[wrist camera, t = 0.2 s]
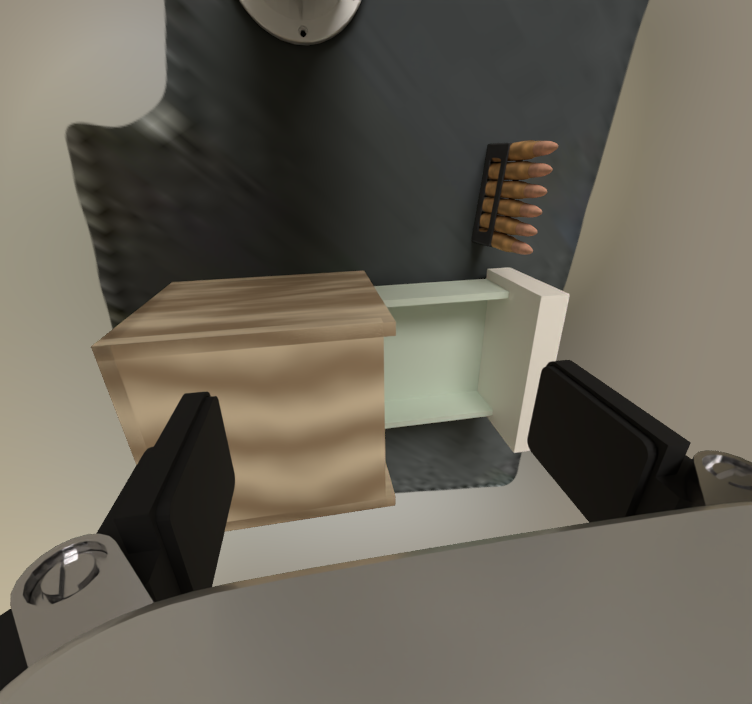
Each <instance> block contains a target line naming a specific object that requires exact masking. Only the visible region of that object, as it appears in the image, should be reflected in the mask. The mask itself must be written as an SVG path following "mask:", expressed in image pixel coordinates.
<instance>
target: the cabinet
mask: <svg viewBox="0 0 752 704" xmlns="http://www.w3.org/2000/svg"><path fill="white" fill-rule="evenodd" d="M388 336H396V321H395V320H394V318H393V316H392V315H391V313H390V312H389V310H388V308H387V307H386V305H385V304H384V302H383V300H382V299H381V297H380V296H379V294H378V292H377V291H376V289H375V287H374V286H373V284H372V283H371V281H370V279H369V278H368V276H367V275H366V273H365V271H348V272H331V273H315V274H298V275H281V276H265V277H248V278H232V279H215V280H198V281H182V282H172V283H171V284H169V285H168V286H167V287H166V288H164V289H163V290H162V291H160V292H159V293H158V294H157V295H155V296H154V297H153V298H152V299H150V300H149V301H148V302H147V303H145V304H144V305H143V306H142V307H140V308H139V309H138V310H136V311H135V312H134V313H133V314H131V315H130V316H129V317H128V318H126V319H125V320H124V321H123V322H121V323H120V324H119V325H118V326H116V327H115V328H114V329H112V330H111V331H110V332H109V333H107V334H106V335H105V336H104V337H102V338H101V339H100V340H99V341H97V342H96V343H95V344H94V345H92V346H91V348H92V351H93V353H94V356H95V358H96V361H97V363H98V366H99V369H100V371H101V374H102V377H103V379H104V382H105V384H106V387H107V389H108V392H109V395H110V397H111V400H112V402H113V405H114V408H115V410H116V413H117V415H118V418H119V421H120V423H121V426H122V428H123V431H124V433H125V436H126V439H127V441H128V444H129V447H130V449H131V451H132V454H133V457H134V460H135V462H136V465H137V464H138V462H139V460H140V459H141V457H142V455H143V454H144V452H145V451H146V450H147V449H148V448H150V447H154V445H155V444H156V442H157V440H158V438H159V437H160V435H161V433H162V431H163V429H164V428H165V426H166V424H167V422H168V421H169V419H170V417H171V415H172V414H173V412H174V410H175V408H176V406H177V405H178V403H179V401H180V399H181V398H182V396H183V395H184V394H185V393H195V392H206V391H208V392H209V393H210V395H211V396H217V397H218V400H219V404H220V409H221V413H222V418H223V422H224V427H225V432H226V436H227V441H228V445H229V450H230V455H231V459H232V464H233V468H234V473H235V488H234V493H233V497H232V501H231V506H230V510H229V514H228V519H227V523H226V527H225V531H231V530H238V529H245V528H251V527H258V526H263V525H271V524H277V523H283V522H290V521H296V520H303V519H310V518H316V517H323V516H329V515H336V514H342V513H349V512H355V511H362V510H368V509H374V508H381V507H387V506H394V505H395V493H394V490H393V486H392V483H391V479H390V476H389V472H388V468H387V465H386V461H385V405H384V337H388Z"/></svg>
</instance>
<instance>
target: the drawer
mask: <svg viewBox="0 0 752 704" xmlns="http://www.w3.org/2000/svg"><path fill="white" fill-rule="evenodd" d="M374 287H375V289H376V291H377V292H378V294H379V296H380V297H381V299H382V300H383V302H384V304H385V305H386V307H387V308H388V310H389V312H390V313H391V315H392V316H393V318H394V320H395V321H396V336H388V337H384V405H385V429H386V428H395V427H403V426H411V425H419V424H427V423H435V422H443V421H451V420H460V419H468V418H476V417H484V416H487V418H488V419H489V420H490V422H491V423H492V424H493V426H494V427H495V428H496V430H497V431H498V432H499V434H500V435H501V436H502V438H503V439H504V440H505V442H506V443H507V444H508V446H509V447H510V448H511V450H512V451H513V452H514V453H516V452H523V451H530V449H529V447H528V444H527V437H528V433H529V428H530V423H531V418H532V413H533V409H534V404H535V399H536V394H537V389H538V385H539V380H540V375H541V371H542V369H543V368H544V367H546V365H547V364H548V363H549V362H551V361H556V357H557V353H558V348H559V343H560V338H561V334H562V329H563V324H564V320H565V315H566V310H567V305H568V300H569V296H570V294H568V293H566V292H563V291H561V290H559V289H557V288H555V287H552V286H550V285H548V284H546V283H543V282H541V281H539V280H537V279H534V278H532V277H530V276H528V275H525V274H523V273H521V272H519V271H516V270H514V269H512V268H494V269H487V276H486V279H476V280H461V281H446V282H431V283H416V284H401V285H386V286H374Z"/></svg>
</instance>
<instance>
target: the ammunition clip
mask: <svg viewBox="0 0 752 704" xmlns="http://www.w3.org/2000/svg"><path fill="white" fill-rule="evenodd" d="M557 148H558V145H557V144H556V143H554V142H551V141H533V140H529V141H522V142H516V143H497V144H488V147H487V153H486V159H485V165H484V170H483V176H482V182H481V188H480V193H479V199H478V205H477V211H476V217H475V222H474V228H473V234H472V242H474V243H478V244H482V245H486V246H490V247H495V248H497V249H500V250H503V251H506V252H514V253H518V254H531V253H532V252H533V250H532V248H531V247H530V246H529V245H528V244H526V243H524V242H521V241H519V240H517V239H516V238H514V237H512V236H509V235H522V236H533V235H535V234H537V230H536V229H535V228H534V227H533V226H531V225H529V224H526V223H523V222H520V221H519V220H517V219H514V218H511V217H536V216H539V215H541V214H542V210H541V209H540V208H538V207H537V206H534V205H531V204H527V203H524V202H522V201H519V200H515V199H523V198H536V197H541V196H543V195H545V194H546V193H547V190H546V189H545V188H544V187H542V186H539V185H536V184H529V183H526V182H523V181H519V180H524V179H528V178H533V177H541V176H545V175H547V174H549V173H551V172H552V170H553V169H552V167H551V166H549V165H547V164H543V163H531V162H528V161H523V160H526V159H532V158H534V157H538V156H542V155H547V154H549V153H552V152H553V151H555V150H556V149H557ZM507 161H516V162H507ZM503 180H513V181H503ZM500 197H501V198H500ZM503 198H509V199H503ZM497 214H499V215H497ZM500 215H505V216H500ZM494 230H495V231H494ZM496 231H498V232H496ZM499 232H500V233H499ZM507 234H509V235H507Z"/></svg>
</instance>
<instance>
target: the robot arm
mask: <svg viewBox="0 0 752 704" xmlns="http://www.w3.org/2000/svg"><path fill="white" fill-rule="evenodd" d="M239 1H240V3H241V4H242V6H243V7H244V9H245V10H246V12H247V13H248V14H249V15H250V16H251V17H252V18H253V20H254V21H255V22H256V23H257V24H258V25H259V26H261V27H262V28H263V29H264V30H266V31H267V32H268V33H269V34H271V35H273V36H275V37H277V38H278V39H280V40H282V41H286V42H289V43H292V44H297V45H313V44H320V43H322V42H325V41H327V40H329V39H332V38H333V37H334V36H336V35H337V34H338V33H340V32H341V31H342V30H343V29H344V28H345V27H346V26H347V25H348V24H349V22H350V21H351V20H352V18H353V16H354V15H355V13H356V11H357V10H358V8H359V5H360V3H361V0H354V1H353V0H239ZM302 31H303V32H305V33H306V36H305V37H302V36H301V35H300V33H301V32H302ZM527 444H528V447H529V449H530V451H531V452H532V453H533V455H534V456H535V457H536V458H537V459H538V461H539V462H540V463H541V464H542V465H543V467H544V468H545V469H546V470H547V472H548V473H549V474H550V475H551V476H552V477H553V479H554V480H555V481H556V482H557V484H558V485H559V486H560V487H561V489H562V490H563V491H564V492H565V493H566V494H567V496H568V497H569V498H570V499H571V501H572V502H573V503H574V504H575V505H576V507H577V508H578V509H579V510H580V512H581V513H582V514H583V515H584V516H585V518H586V519H587V520H588V521H589V523H584V524H578V525H571V526H565V527H558V528H552V529H546V530H540V531H533V532H527V533H521V534H515V535H509V536H503V537H496V538H490V539H483V540H477V541H471V542H465V543H459V544H453V545H447V546H440V547H435V548H428V549H422V550H416V551H411V552H404V553H398V554H392V555H387V556H381V557H374V558H368V559H362V560H356V561H350V562H345V563H338V564H333V565H327V566H320V567H314V568H309V569H303V570H298V571H293V572H287V573H282V574H276V575H271V576H266V577H261V578H255V579H249V580H244V581H238V582H233V583H229V584H224V585H220V586H215V587H212V584H213V580H214V575H215V571H216V567H217V562H218V557H219V554H220V549H221V545H222V541H223V536H224V532H225V527H226V523H227V519H228V514H229V510H230V506H231V501H232V497H233V493H234V488H235V473H234V468H233V464H232V459H231V455H230V450H229V445H228V441H227V436H226V432H225V427H224V422H223V418H222V413H221V409H220V404H219V400H218V397H217V396H211V395H210V393H209V392H208V391H206V392H195V393H185V394H184V395H183V396H182V398H181V399H180V401H179V403H178V405H177V406H176V408H175V410H174V412H173V414H172V415H171V417H170V419H169V421H168V422H167V424H166V426H165V428H164V429H163V431H162V433H161V435H160V437H159V438H158V440H157V442H156V444H155V445H154V447H150V448H148V449H147V450H146V451H145V452H144V454H143V455H142V457H141V459H140V460H139V462H138V464H137V465H136V467H135V469H134V471H133V472H132V474H131V476H130V478H129V479H128V481H127V483H126V484H125V486H124V488H123V489H122V491H121V493H120V495H119V496H118V498H117V500H116V501H115V503H114V505H113V506H112V508H111V510H110V511H109V513H108V515H107V517H106V518H105V520H104V522H103V523H102V525H101V527H100V528H99V530H98V532H97V533H96V534H88V535H83V536H80V537H76V538H73V539H70V540H68V541H66V542H64V543H62V544H60V545H57V546H55V547H54V548H52V549H51V550H49V551H48V552H46V553H45V554H43V555H42V556H40V557H39V558H38V559H37V560H36V561H35V562H33V563H32V564H31V565H30V566H29V567H28V568H27V569H26V570H25V571H24V573H23V574H22V575H21V576H20V578H19V579H18V580H17V581H16V584H15V586H14V588H13V590H12V592H11V602H10V605H11V609H9V610H8V611H6V612H5V613H4V614H2V615H0V704H752V462H750V461H747V460H745V459H743V458H741V457H738V456H735V455H732V454H729V453H725V452H719V451H709V450H706V451H700V452H698V453H696V454H695V455H694V457H693V459H690V458H689V457H688V456H686V452H687V450H688V448H689V445H690V442H689V441H687V440H686V439H685V438H683V437H682V436H680V435H679V434H677V433H676V432H674V431H673V430H671V429H670V428H668V427H667V426H666V425H664V424H663V423H661V422H660V421H658V420H657V419H655V418H654V417H653V416H651V415H650V414H648V413H646V412H645V411H644V410H642V409H641V408H639V407H638V406H636V405H635V404H634V403H632V402H631V401H629V400H628V399H626V398H625V397H623V396H622V395H621V394H619V393H618V392H616V391H615V390H613V389H612V388H610V387H609V386H607V385H606V384H605V383H603V382H602V381H600V380H599V379H597V378H596V377H594V376H593V375H591V374H590V373H588V372H587V371H586V370H584V369H583V368H581V367H580V366H578V365H577V364H575V363H574V362H572V361H570V360H562V361H551V362H549V363H548V364H547V365H546V367H544V368H543V369H542V371H541V375H540V380H539V385H538V389H537V394H536V399H535V404H534V409H533V413H532V418H531V423H530V428H529V433H528V437H527Z"/></svg>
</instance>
